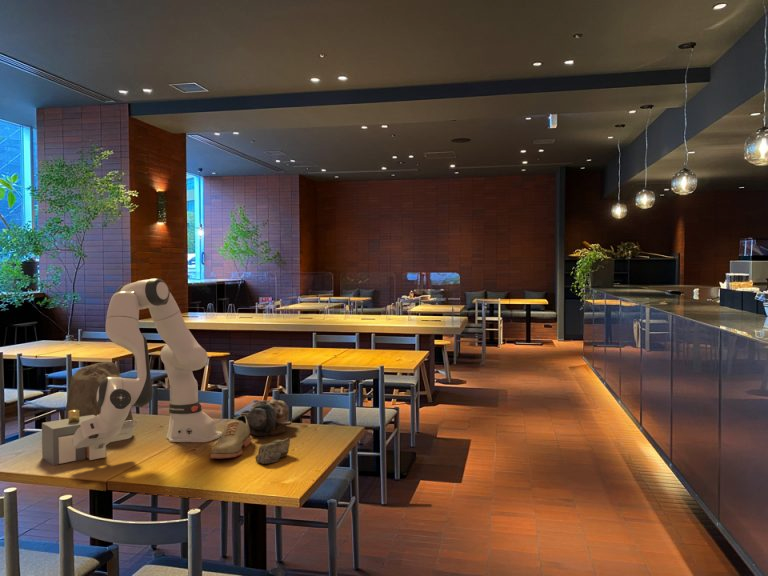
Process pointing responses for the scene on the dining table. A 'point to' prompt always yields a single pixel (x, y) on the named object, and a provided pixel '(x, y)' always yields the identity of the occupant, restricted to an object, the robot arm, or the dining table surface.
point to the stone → (89, 388)
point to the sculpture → (267, 418)
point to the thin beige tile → (66, 449)
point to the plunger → (95, 452)
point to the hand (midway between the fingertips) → (98, 447)
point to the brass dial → (73, 416)
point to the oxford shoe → (232, 439)
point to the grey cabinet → (54, 431)
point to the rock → (272, 451)
